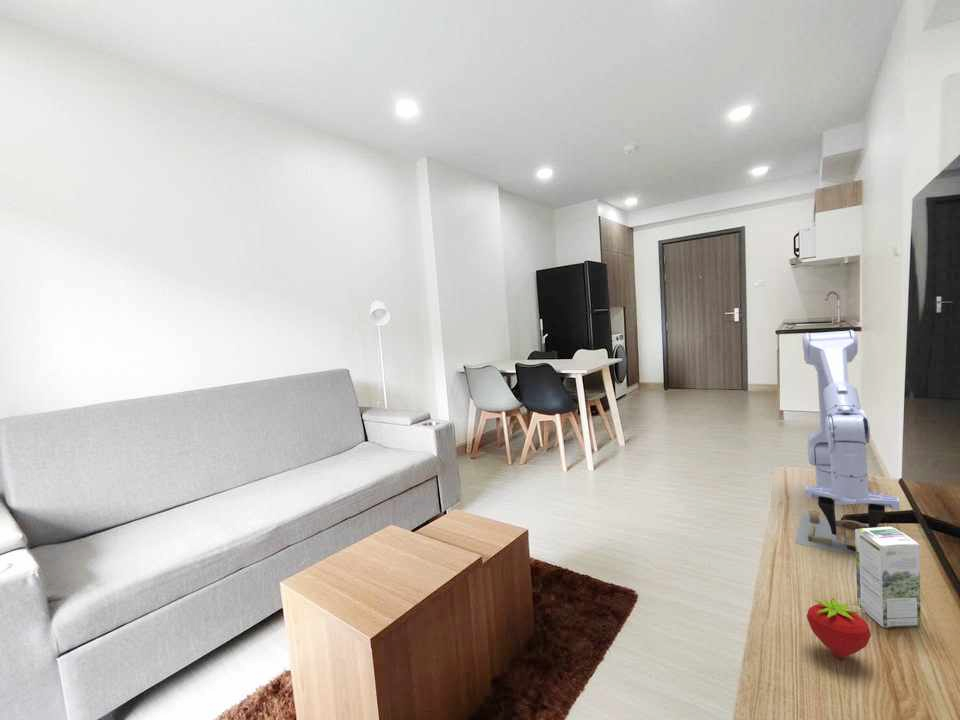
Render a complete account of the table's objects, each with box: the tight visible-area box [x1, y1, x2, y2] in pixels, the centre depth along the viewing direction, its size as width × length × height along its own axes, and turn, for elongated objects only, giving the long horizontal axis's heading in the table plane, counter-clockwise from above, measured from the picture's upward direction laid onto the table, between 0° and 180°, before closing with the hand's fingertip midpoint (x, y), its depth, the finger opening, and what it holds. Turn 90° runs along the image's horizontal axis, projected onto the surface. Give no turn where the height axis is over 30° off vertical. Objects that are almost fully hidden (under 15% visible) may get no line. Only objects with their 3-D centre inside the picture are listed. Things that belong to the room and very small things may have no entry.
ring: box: [835, 519, 868, 546], centre depth 91 cm, size 5×5×3 cm
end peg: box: [847, 545, 856, 551], centre depth 91 cm, size 2×2×4 cm
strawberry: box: [806, 597, 872, 659], centre depth 67 cm, size 6×8×10 cm
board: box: [794, 510, 869, 556], centre depth 97 cm, size 15×13×3 cm
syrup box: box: [855, 526, 922, 629], centre depth 73 cm, size 6×6×14 cm
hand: (852, 535), depth 91 cm, fingers closed on ring, 5 cm apart
